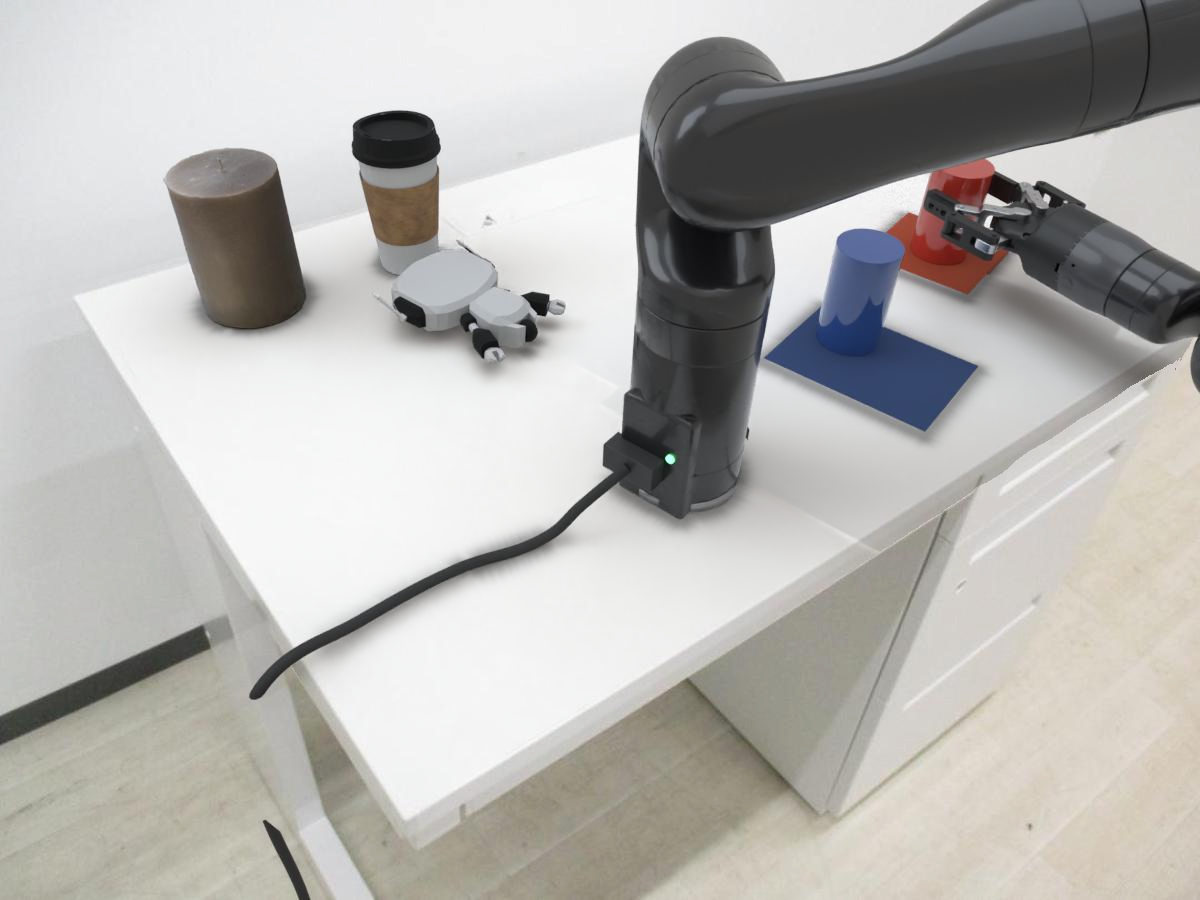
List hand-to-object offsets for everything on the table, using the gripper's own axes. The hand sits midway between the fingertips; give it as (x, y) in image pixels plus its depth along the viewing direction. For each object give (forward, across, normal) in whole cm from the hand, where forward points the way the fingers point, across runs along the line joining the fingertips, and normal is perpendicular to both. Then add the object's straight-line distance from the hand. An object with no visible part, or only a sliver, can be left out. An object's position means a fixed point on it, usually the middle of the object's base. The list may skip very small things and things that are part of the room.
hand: (956, 188), depth 98 cm
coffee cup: (+27, +50, +8) cm, 57 cm away
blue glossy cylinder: (-7, +20, +8) cm, 22 cm away
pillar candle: (+27, +66, +8) cm, 72 cm away
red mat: (0, 0, +8) cm, 8 cm away
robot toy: (+13, +49, +8) cm, 52 cm away
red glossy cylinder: (0, 0, +7) cm, 7 cm away
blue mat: (-11, +20, +8) cm, 25 cm away
